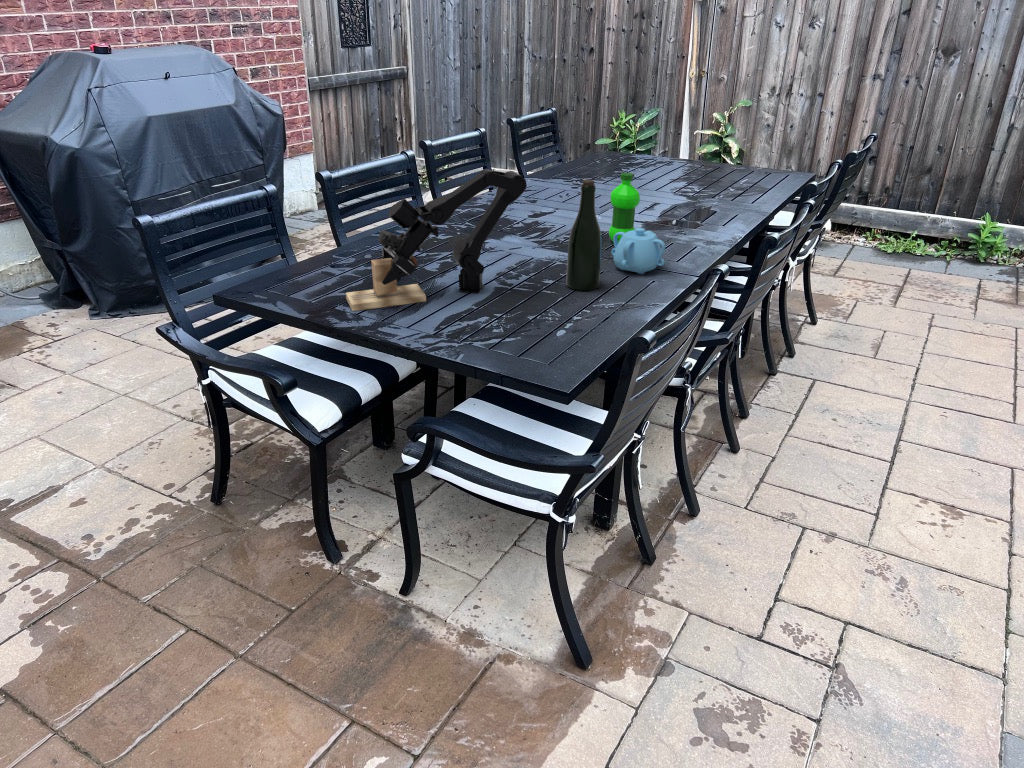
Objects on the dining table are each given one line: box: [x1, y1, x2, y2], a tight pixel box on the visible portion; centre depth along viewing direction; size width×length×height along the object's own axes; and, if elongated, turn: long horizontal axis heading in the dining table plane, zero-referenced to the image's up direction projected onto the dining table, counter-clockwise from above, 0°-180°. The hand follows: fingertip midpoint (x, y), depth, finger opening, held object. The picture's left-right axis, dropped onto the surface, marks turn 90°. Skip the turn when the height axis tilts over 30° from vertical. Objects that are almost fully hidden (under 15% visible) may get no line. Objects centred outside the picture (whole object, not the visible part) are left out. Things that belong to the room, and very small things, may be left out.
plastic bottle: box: [608, 172, 641, 243], centre depth 267 cm, size 10×10×25 cm
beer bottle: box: [565, 179, 602, 292], centre depth 227 cm, size 10×10×33 cm
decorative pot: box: [610, 227, 666, 275], centre depth 246 cm, size 16×16×14 cm
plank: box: [345, 283, 427, 312], centre depth 222 cm, size 22×10×2 cm, turn 111°
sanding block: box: [370, 258, 398, 298], centre depth 219 cm, size 6×5×10 cm
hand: (379, 278), depth 218 cm, fingers open, 9 cm apart
